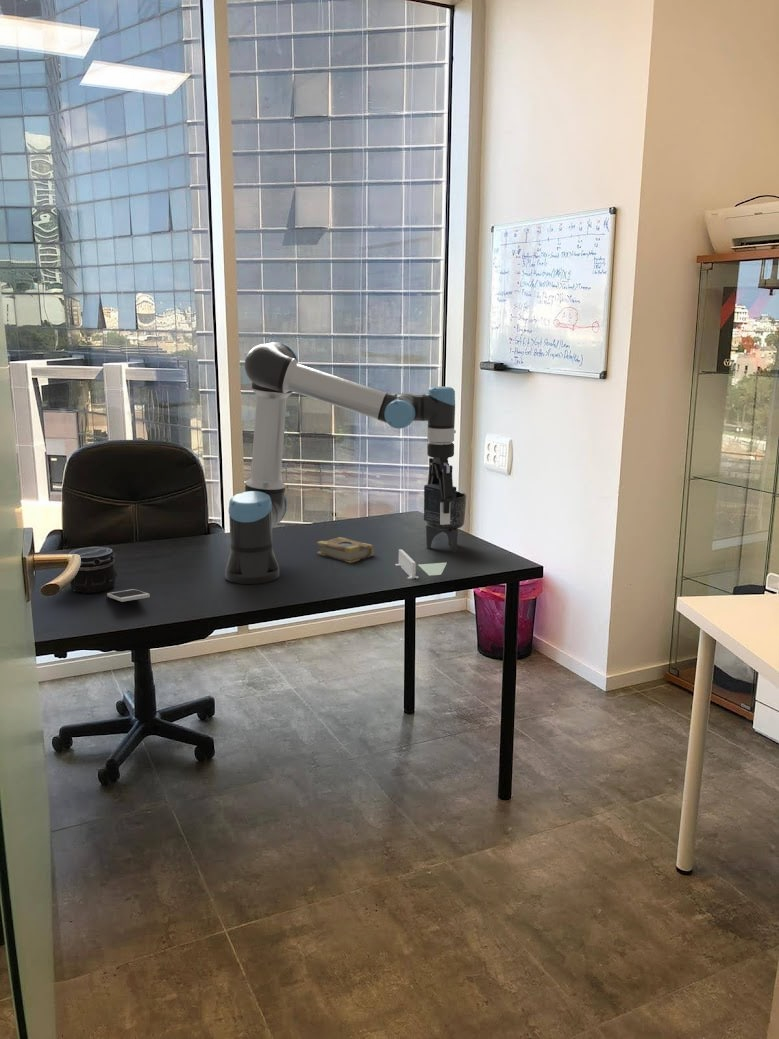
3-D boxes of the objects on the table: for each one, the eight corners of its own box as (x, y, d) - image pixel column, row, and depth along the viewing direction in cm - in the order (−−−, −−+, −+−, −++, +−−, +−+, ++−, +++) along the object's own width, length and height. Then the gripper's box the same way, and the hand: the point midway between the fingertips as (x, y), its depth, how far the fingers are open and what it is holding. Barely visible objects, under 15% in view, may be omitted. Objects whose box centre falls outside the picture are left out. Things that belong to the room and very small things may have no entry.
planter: (425, 554, 267) (426, 498, 263) (422, 543, 279) (423, 490, 275) (467, 554, 267) (468, 498, 263) (462, 543, 280) (463, 490, 276)
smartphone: (121, 602, 214) (121, 598, 214) (106, 596, 227) (106, 592, 227) (150, 597, 217) (150, 593, 217) (134, 592, 231) (133, 588, 231)
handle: (408, 580, 242) (408, 563, 241) (395, 565, 255) (395, 549, 254) (418, 579, 243) (419, 562, 242) (405, 565, 256) (405, 549, 255)
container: (83, 578, 242) (80, 544, 239) (126, 581, 240) (123, 546, 237) (58, 592, 230) (55, 557, 227) (103, 595, 228) (100, 559, 225)
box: (456, 522, 247) (456, 486, 244) (441, 525, 243) (442, 489, 241) (437, 517, 253) (438, 482, 250) (423, 520, 249) (423, 484, 247)
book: (316, 555, 267) (316, 539, 266) (341, 548, 275) (341, 533, 274) (350, 564, 257) (350, 548, 256) (375, 557, 266) (375, 541, 264)
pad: (429, 576, 245) (429, 575, 245) (417, 565, 255) (417, 564, 255) (459, 574, 247) (459, 573, 247) (446, 563, 258) (446, 562, 258)
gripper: (466, 447, 233) (464, 528, 239) (441, 436, 254) (439, 510, 259) (440, 449, 231) (438, 530, 237) (416, 437, 252) (416, 512, 257)
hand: (439, 519), depth 248 cm, fingers closed on box, 9 cm apart
